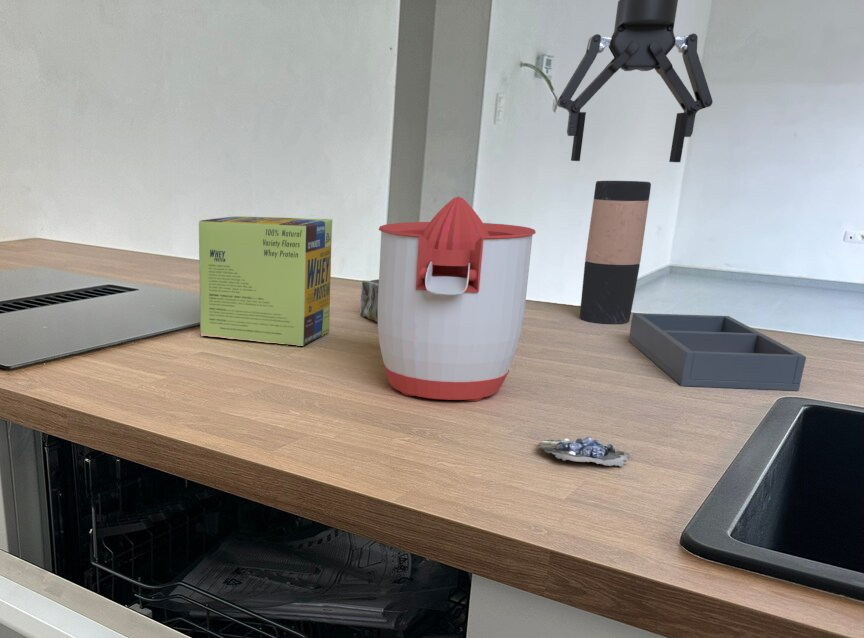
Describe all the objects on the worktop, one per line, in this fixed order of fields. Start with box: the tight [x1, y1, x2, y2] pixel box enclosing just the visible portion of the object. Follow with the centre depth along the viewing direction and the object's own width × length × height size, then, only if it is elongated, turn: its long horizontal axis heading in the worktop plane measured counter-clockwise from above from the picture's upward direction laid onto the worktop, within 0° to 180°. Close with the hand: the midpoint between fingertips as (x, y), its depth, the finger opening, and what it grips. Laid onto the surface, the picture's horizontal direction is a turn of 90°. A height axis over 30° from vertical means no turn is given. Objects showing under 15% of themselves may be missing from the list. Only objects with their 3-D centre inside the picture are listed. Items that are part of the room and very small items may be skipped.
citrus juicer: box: [377, 196, 537, 402], centre depth 89 cm, size 16×17×20 cm
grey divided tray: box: [628, 312, 807, 392], centre depth 104 cm, size 12×23×4 cm, turn 171°
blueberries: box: [536, 436, 631, 468], centre depth 73 cm, size 7×8×2 cm
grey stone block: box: [359, 278, 379, 323], centre depth 124 cm, size 20×10×6 cm, turn 16°
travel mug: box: [579, 180, 652, 325], centre depth 127 cm, size 8×8×20 cm
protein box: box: [198, 215, 333, 347], centre depth 116 cm, size 10×15×16 cm
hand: (624, 161), depth 123 cm, fingers open, 13 cm apart
